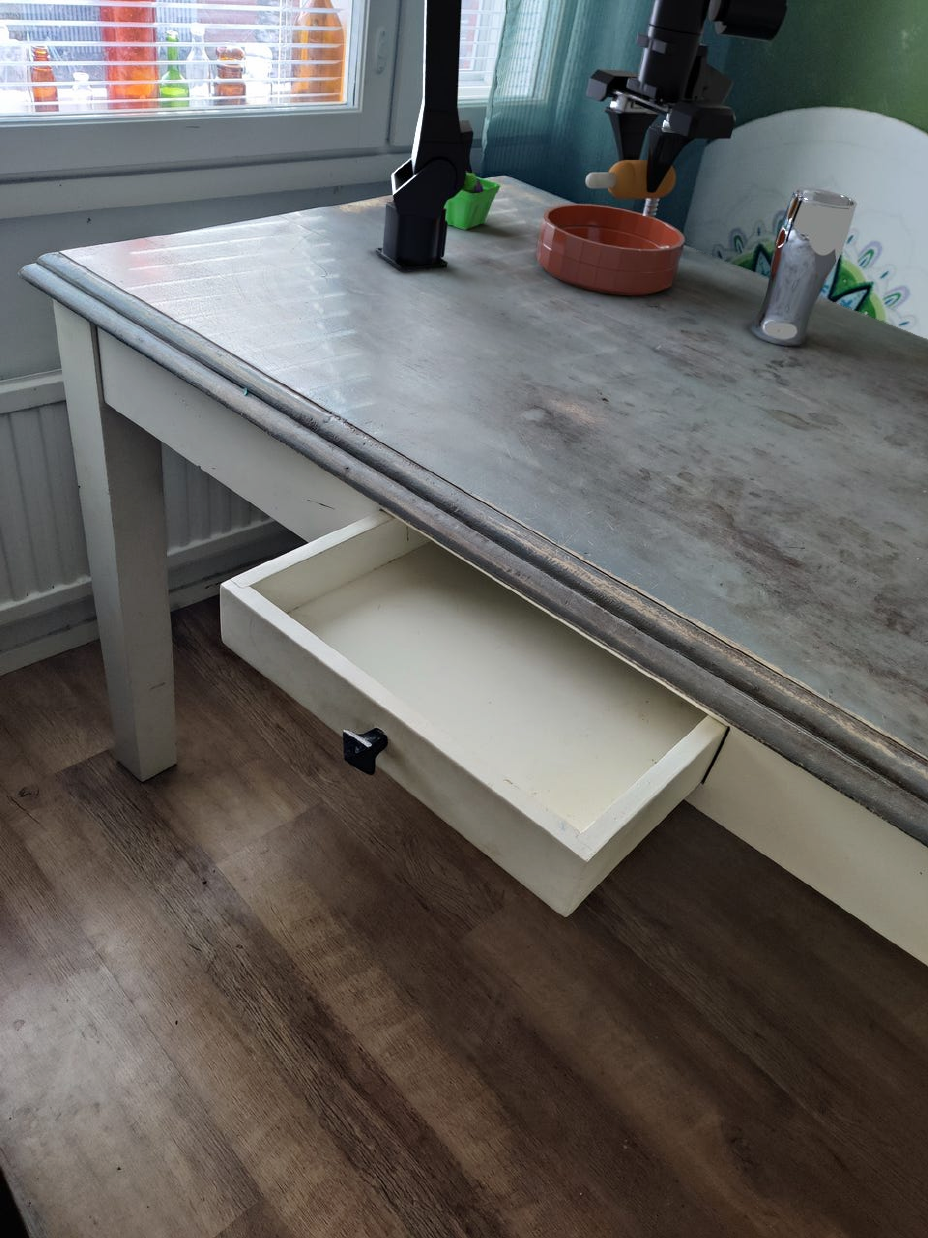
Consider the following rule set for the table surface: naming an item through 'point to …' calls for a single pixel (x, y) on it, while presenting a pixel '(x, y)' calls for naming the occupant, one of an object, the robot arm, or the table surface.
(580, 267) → the shallow orange pet bowl
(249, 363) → the table surface
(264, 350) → the table surface
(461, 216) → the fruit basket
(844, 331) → the table surface
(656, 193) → the drumstick
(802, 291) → the beer glass
